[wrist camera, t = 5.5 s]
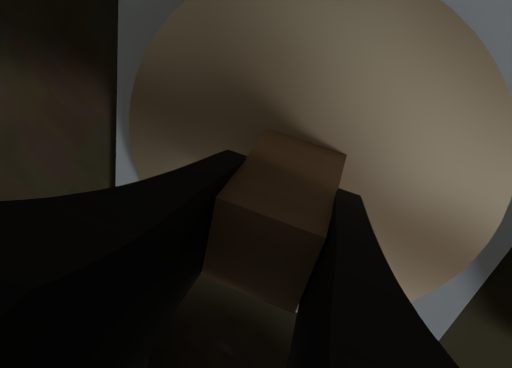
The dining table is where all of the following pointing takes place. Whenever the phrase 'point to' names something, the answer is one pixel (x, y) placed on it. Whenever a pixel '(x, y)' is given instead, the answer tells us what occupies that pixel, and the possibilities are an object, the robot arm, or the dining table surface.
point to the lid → (330, 133)
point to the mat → (463, 3)
